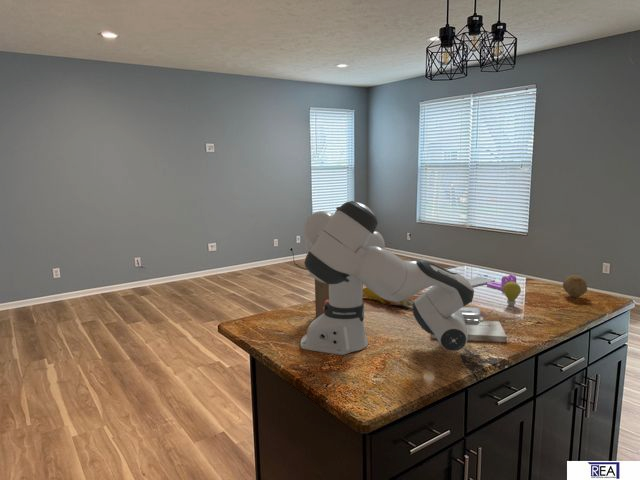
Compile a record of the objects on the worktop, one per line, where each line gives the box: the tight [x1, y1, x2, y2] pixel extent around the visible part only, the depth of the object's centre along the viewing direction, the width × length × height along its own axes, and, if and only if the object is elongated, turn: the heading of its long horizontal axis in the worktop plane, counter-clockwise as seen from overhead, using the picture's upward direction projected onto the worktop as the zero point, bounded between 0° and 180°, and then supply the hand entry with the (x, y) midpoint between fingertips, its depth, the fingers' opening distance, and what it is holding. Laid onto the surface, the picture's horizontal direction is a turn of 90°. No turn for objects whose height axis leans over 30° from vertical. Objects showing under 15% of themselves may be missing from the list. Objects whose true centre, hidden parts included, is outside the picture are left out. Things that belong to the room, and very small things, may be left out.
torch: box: [363, 287, 414, 308], centre depth 192 cm, size 8×8×25 cm
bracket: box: [486, 274, 517, 291], centre depth 209 cm, size 13×6×7 cm, turn 31°
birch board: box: [430, 320, 507, 343], centre depth 157 cm, size 24×14×2 cm, turn 78°
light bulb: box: [502, 282, 522, 307], centre depth 183 cm, size 7×7×10 cm
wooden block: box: [314, 278, 329, 319], centre depth 176 cm, size 10×10×20 cm
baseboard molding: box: [466, 274, 496, 288], centre depth 217 cm, size 31×3×12 cm
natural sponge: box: [562, 274, 588, 299], centre depth 192 cm, size 9×9×10 cm
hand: (446, 306), depth 153 cm, fingers closed on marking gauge, 3 cm apart
